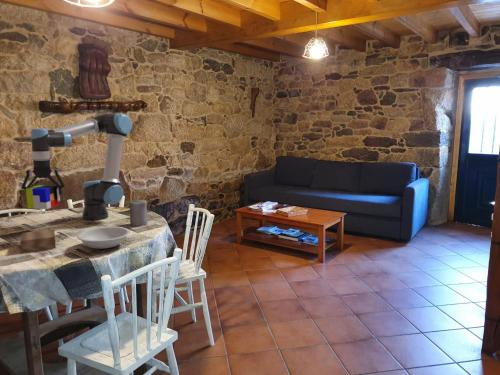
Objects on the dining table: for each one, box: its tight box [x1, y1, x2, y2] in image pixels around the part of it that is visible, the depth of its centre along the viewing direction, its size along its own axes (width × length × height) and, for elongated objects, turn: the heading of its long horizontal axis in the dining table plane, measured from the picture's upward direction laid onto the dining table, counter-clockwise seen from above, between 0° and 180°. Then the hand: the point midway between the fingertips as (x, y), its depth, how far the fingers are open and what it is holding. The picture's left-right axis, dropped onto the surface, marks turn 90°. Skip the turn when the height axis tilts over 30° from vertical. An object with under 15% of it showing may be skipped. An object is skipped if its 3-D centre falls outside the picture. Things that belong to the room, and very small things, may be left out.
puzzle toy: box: [25, 184, 59, 210], centre depth 194 cm, size 10×10×10 cm
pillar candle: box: [128, 199, 148, 227], centre depth 223 cm, size 10×10×15 cm
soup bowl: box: [76, 226, 131, 250], centre depth 185 cm, size 24×24×7 cm
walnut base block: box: [19, 228, 56, 254], centre depth 185 cm, size 14×14×6 cm
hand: (44, 201), depth 196 cm, fingers closed on puzzle toy, 12 cm apart
